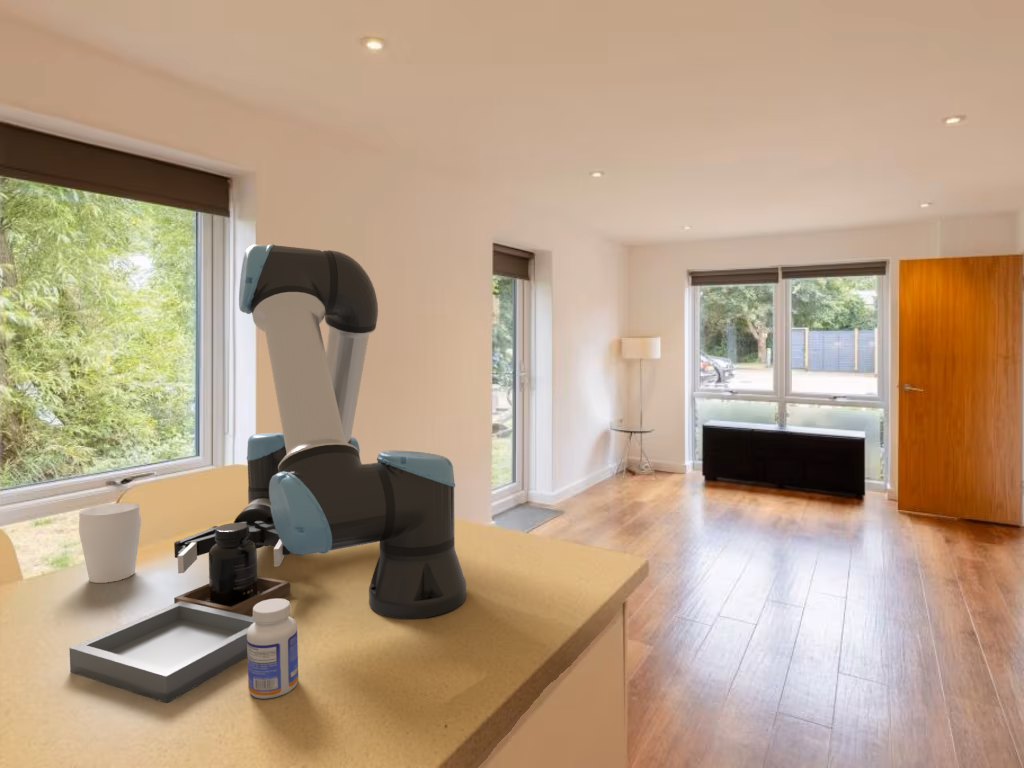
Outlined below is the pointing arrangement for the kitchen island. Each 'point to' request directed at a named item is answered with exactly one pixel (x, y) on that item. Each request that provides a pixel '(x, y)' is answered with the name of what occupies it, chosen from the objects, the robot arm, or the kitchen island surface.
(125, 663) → the tray
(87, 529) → the cup
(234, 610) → the bottle holder
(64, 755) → the kitchen island surface
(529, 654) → the kitchen island surface
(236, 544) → the supplement bottle
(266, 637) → the pill bottle
